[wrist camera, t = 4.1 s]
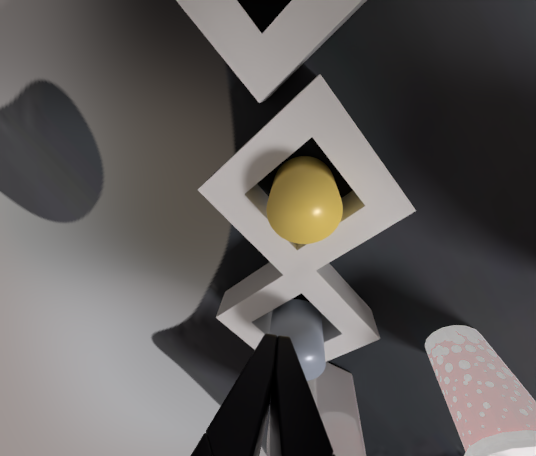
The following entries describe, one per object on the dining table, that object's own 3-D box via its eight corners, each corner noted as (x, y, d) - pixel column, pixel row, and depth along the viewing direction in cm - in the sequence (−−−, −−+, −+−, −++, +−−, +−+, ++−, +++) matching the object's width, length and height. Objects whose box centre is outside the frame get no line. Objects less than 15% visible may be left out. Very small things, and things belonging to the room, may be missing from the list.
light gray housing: (305, 237, 20) (306, 260, 17) (371, 309, 23) (380, 338, 20) (225, 291, 24) (215, 317, 21) (289, 348, 26) (288, 377, 24)
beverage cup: (403, 334, 24) (513, 601, 11) (477, 308, 21) (712, 605, 9) (431, 372, 26) (550, 636, 13) (502, 352, 23) (723, 646, 11)
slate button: (300, 291, 20) (300, 335, 17) (331, 322, 21) (337, 369, 18) (261, 313, 22) (253, 357, 18) (292, 341, 23) (291, 388, 19)
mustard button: (308, 142, 16) (311, 158, 13) (346, 190, 17) (358, 217, 14) (261, 182, 18) (251, 206, 14) (298, 224, 19) (297, 255, 15)
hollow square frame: (316, 76, 15) (320, 74, 12) (399, 192, 18) (416, 210, 15) (212, 174, 19) (197, 189, 16) (293, 259, 21) (292, 284, 19)
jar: (272, 351, 27) (254, 523, 16) (356, 358, 26) (393, 545, 15) (273, 402, 31) (259, 564, 20) (345, 409, 30) (368, 583, 20)
